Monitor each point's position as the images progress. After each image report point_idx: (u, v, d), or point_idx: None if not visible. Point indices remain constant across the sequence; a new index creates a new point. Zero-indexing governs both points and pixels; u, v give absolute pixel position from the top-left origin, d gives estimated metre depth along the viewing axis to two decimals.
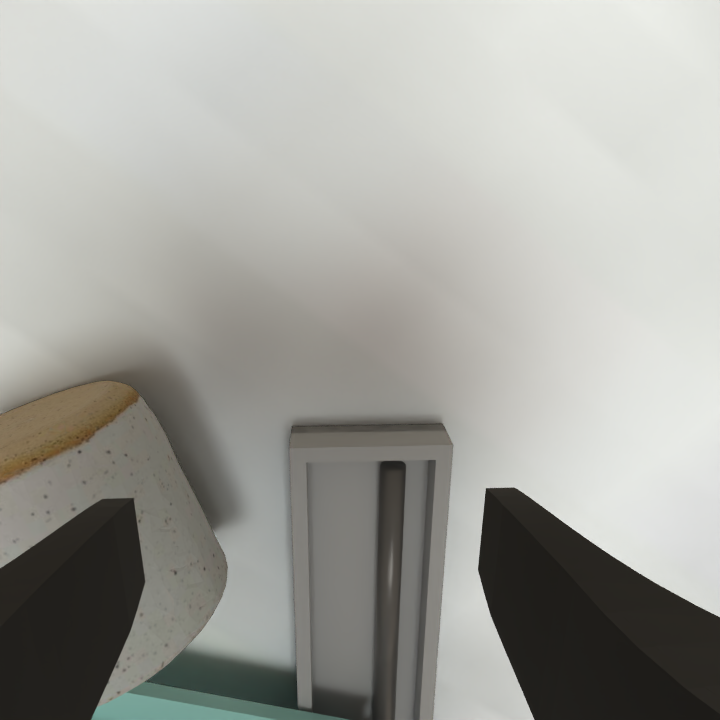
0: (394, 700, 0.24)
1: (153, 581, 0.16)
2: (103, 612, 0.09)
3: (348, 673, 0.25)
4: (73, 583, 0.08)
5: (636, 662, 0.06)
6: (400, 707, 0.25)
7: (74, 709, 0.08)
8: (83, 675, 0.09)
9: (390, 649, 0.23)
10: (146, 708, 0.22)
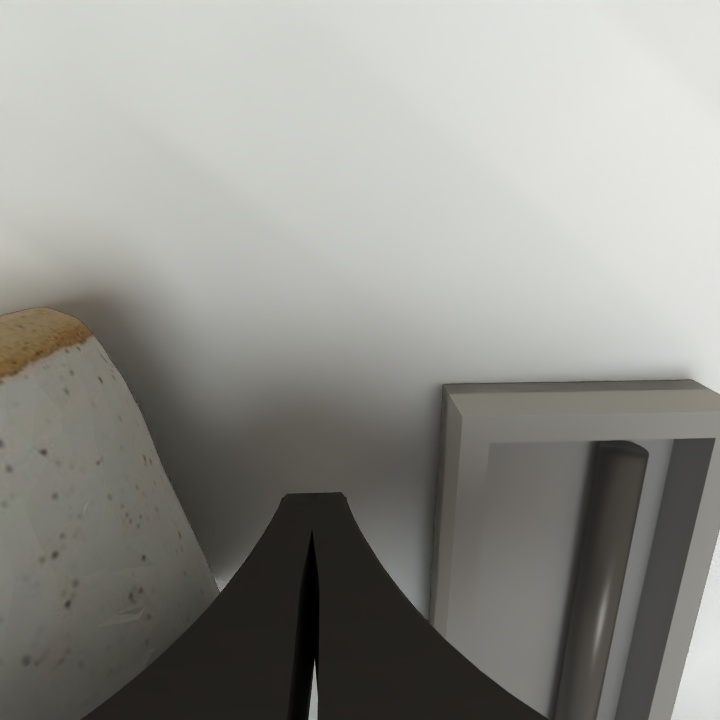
0: None
1: None
2: (312, 603, 0.09)
3: None
4: (307, 574, 0.08)
5: (319, 678, 0.06)
6: None
7: (306, 697, 0.09)
8: (308, 664, 0.09)
9: None
10: None
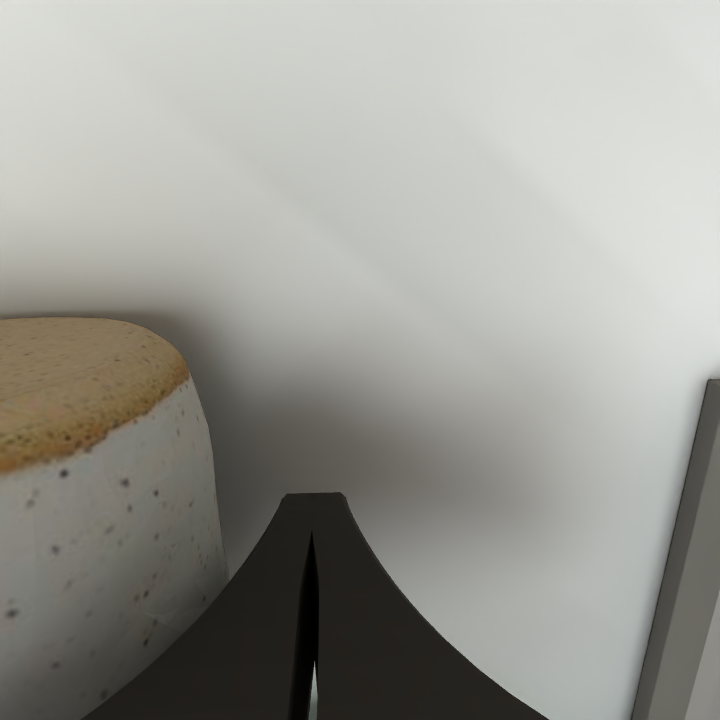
0: None
1: None
2: (313, 604, 0.09)
3: None
4: (307, 574, 0.08)
5: None
6: None
7: (306, 697, 0.09)
8: (308, 664, 0.09)
9: None
10: None
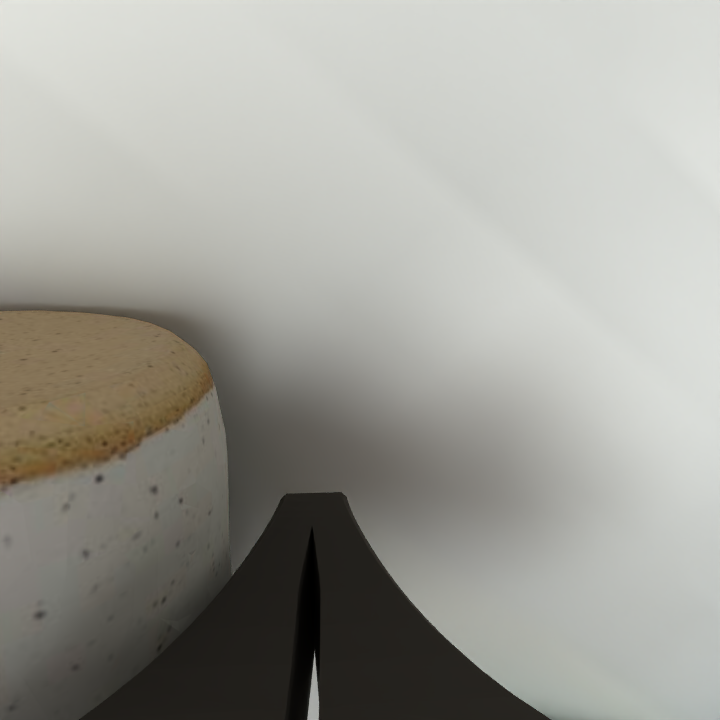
0: None
1: None
2: (312, 603, 0.09)
3: None
4: (306, 574, 0.08)
5: None
6: None
7: (305, 697, 0.09)
8: (307, 664, 0.09)
9: None
10: None
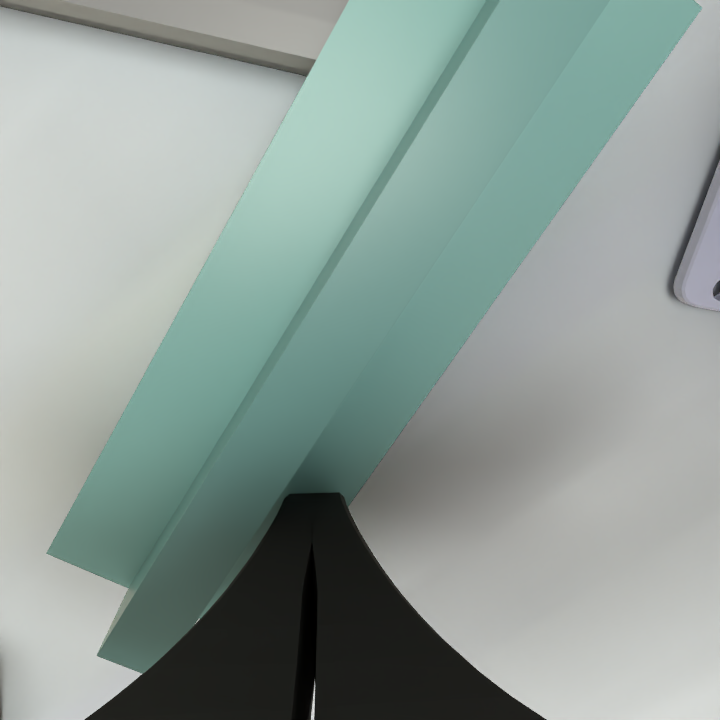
0: None
1: None
2: None
3: None
4: (310, 574, 0.08)
5: None
6: None
7: (308, 697, 0.09)
8: (310, 664, 0.09)
9: None
10: (185, 371, 0.10)
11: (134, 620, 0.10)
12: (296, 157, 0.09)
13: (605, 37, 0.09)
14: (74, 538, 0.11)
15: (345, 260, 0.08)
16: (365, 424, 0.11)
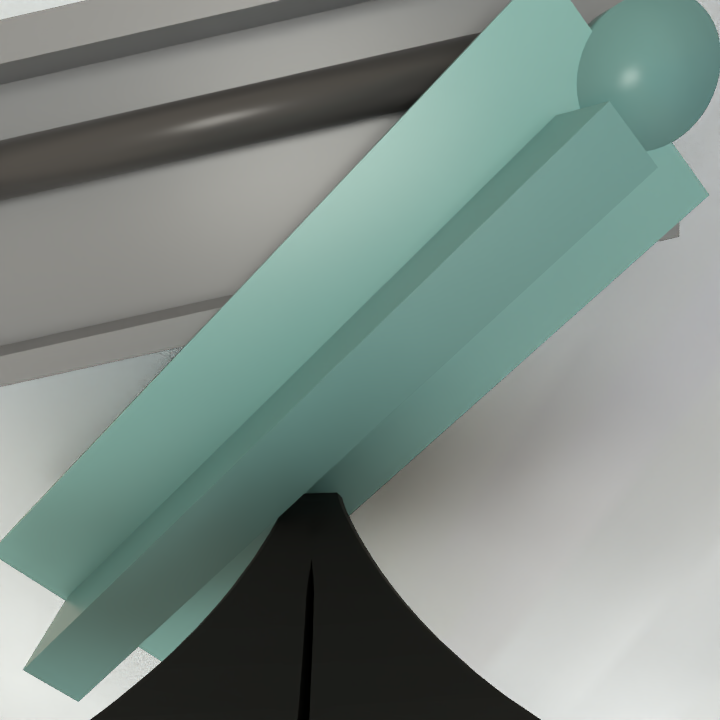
0: (442, 46, 0.10)
1: None
2: None
3: None
4: None
5: (312, 679, 0.06)
6: None
7: None
8: None
9: (272, 99, 0.10)
10: (171, 409, 0.10)
11: (69, 643, 0.10)
12: (323, 240, 0.09)
13: (622, 200, 0.10)
14: (22, 543, 0.11)
15: (350, 357, 0.08)
16: (330, 490, 0.11)
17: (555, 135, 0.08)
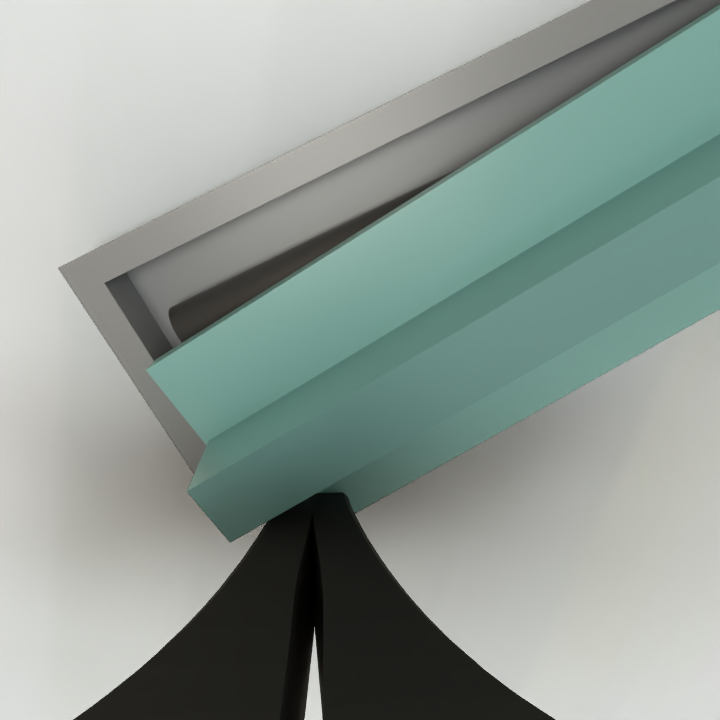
0: None
1: None
2: (309, 604, 0.09)
3: None
4: (303, 575, 0.08)
5: None
6: None
7: (302, 697, 0.09)
8: (304, 664, 0.09)
9: None
10: (396, 254, 0.10)
11: (249, 470, 0.09)
12: (613, 108, 0.09)
13: None
14: (184, 367, 0.10)
15: (660, 216, 0.08)
16: (519, 385, 0.11)
17: None
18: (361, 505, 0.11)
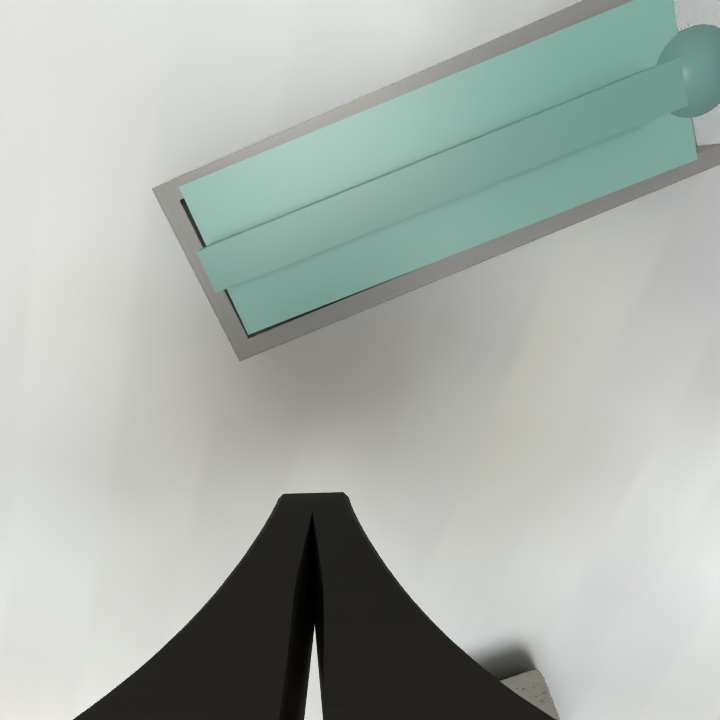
0: None
1: None
2: (308, 604, 0.09)
3: None
4: (303, 574, 0.08)
5: None
6: None
7: (301, 697, 0.09)
8: (304, 664, 0.09)
9: None
10: (347, 142, 0.16)
11: (236, 246, 0.14)
12: (488, 78, 0.15)
13: (653, 139, 0.16)
14: (203, 190, 0.16)
15: (493, 135, 0.14)
16: (412, 246, 0.17)
17: (643, 71, 0.14)
18: (300, 313, 0.17)
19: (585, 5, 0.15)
